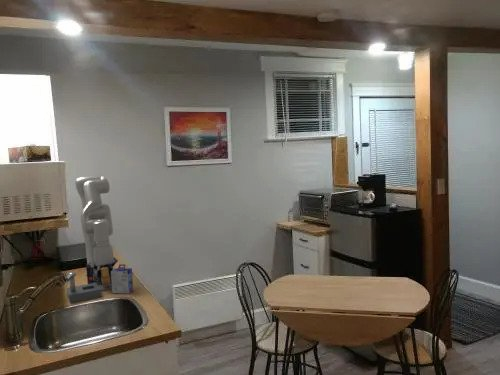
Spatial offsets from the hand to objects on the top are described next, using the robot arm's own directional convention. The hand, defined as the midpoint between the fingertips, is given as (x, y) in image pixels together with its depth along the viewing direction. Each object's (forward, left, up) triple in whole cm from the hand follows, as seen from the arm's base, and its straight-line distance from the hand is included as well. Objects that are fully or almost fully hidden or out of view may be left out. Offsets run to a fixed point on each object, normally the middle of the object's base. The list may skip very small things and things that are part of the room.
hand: (105, 275), depth 244 cm
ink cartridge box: (+13, +7, -7) cm, 16 cm away
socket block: (+7, -12, -7) cm, 16 cm away
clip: (+12, -19, +5) cm, 23 cm away
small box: (-11, -1, -7) cm, 13 cm away
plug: (0, 0, -5) cm, 5 cm away
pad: (0, 0, -7) cm, 7 cm away
